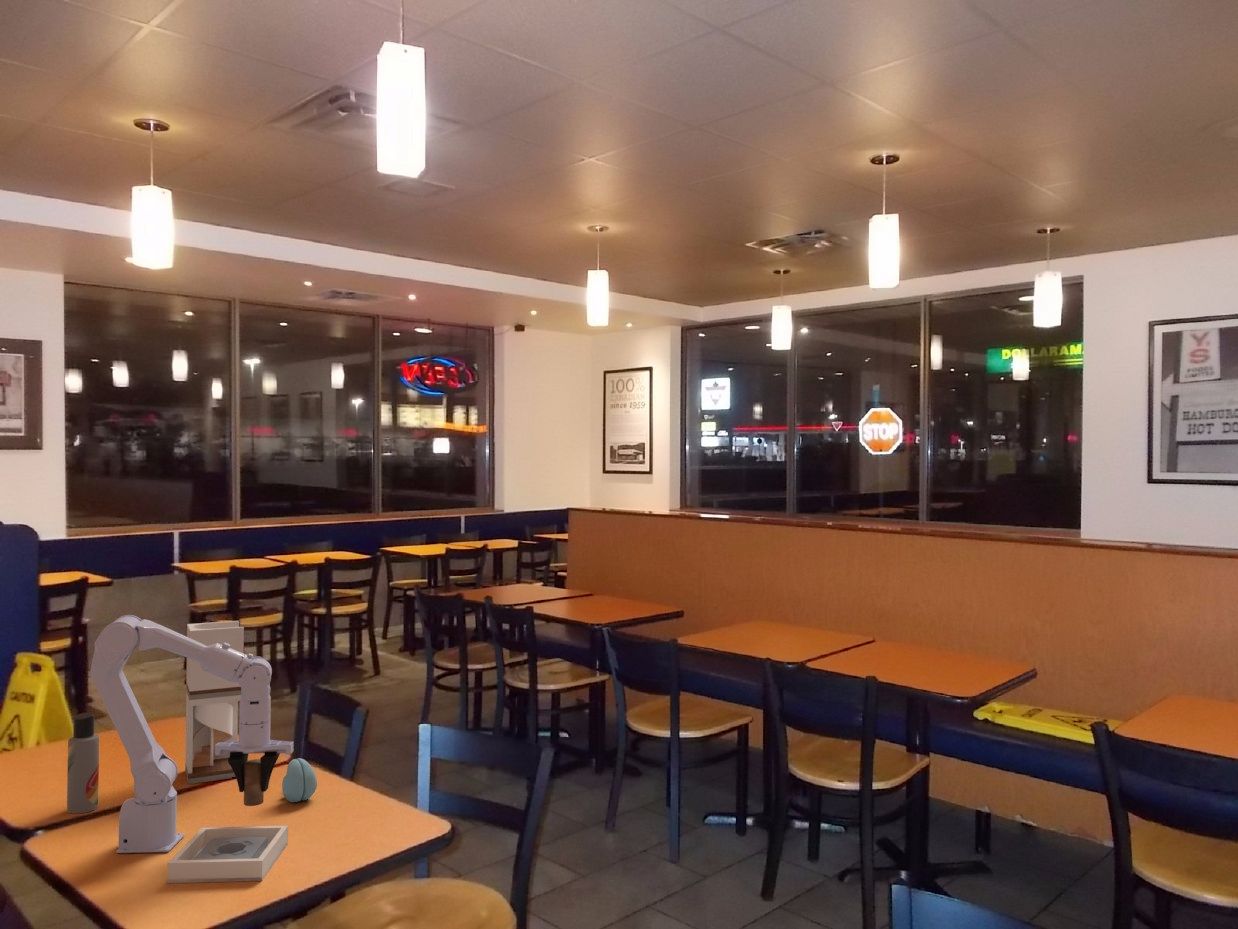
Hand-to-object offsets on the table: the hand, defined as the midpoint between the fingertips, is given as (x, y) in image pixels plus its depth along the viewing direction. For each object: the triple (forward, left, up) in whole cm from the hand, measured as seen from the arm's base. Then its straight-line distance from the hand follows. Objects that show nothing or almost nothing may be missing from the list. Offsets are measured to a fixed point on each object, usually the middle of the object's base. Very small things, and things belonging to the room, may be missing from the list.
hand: (253, 790), depth 180 cm
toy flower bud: (+3, +21, -9) cm, 23 cm away
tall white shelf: (-21, +38, -9) cm, 44 cm away
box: (0, -13, -9) cm, 16 cm away
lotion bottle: (-40, +16, -9) cm, 44 cm away
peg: (0, 0, -3) cm, 2 cm away
